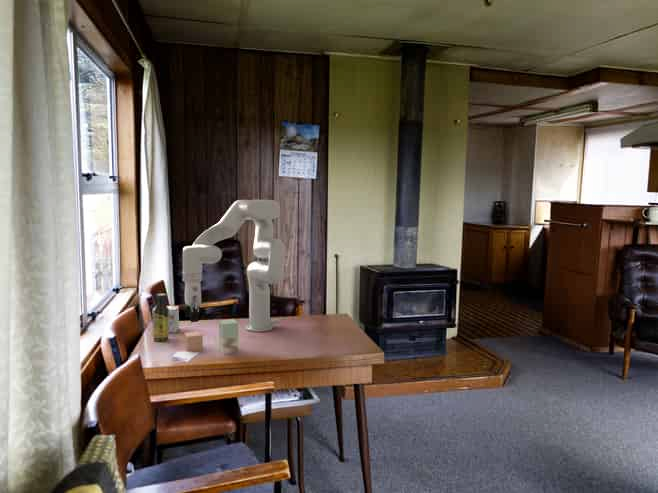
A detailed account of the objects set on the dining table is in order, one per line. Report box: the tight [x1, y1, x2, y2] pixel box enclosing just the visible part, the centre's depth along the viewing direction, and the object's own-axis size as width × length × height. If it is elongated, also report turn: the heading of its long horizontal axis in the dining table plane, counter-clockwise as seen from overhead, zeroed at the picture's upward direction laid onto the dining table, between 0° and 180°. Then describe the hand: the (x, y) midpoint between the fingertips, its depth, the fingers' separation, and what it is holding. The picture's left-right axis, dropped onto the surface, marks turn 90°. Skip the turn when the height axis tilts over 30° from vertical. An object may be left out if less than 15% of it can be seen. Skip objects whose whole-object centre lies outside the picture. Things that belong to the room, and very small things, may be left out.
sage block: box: [218, 318, 239, 339], centre depth 197 cm, size 6×6×6 cm
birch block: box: [218, 334, 239, 355], centre depth 198 cm, size 6×6×6 cm
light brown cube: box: [183, 331, 204, 352], centre depth 200 cm, size 6×6×6 cm
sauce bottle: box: [152, 293, 170, 342], centre depth 210 cm, size 7×6×20 cm
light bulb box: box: [151, 305, 180, 333], centre depth 225 cm, size 11×7×11 cm, turn 95°
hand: (192, 319), depth 199 cm, fingers open, 9 cm apart
